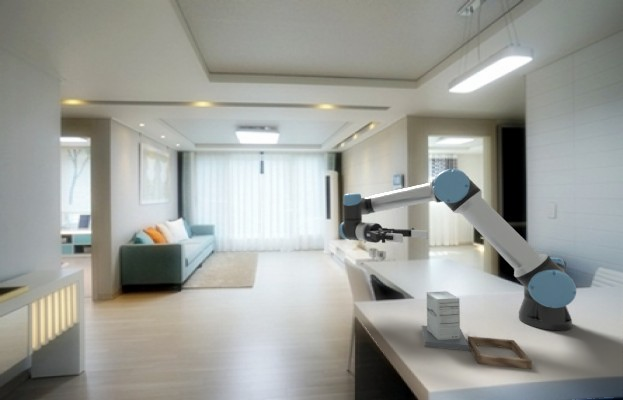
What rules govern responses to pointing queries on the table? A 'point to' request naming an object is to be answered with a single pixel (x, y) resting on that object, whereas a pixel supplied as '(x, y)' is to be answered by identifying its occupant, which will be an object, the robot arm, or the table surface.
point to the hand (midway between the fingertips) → (415, 236)
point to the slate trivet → (444, 341)
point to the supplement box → (443, 315)
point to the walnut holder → (498, 360)
